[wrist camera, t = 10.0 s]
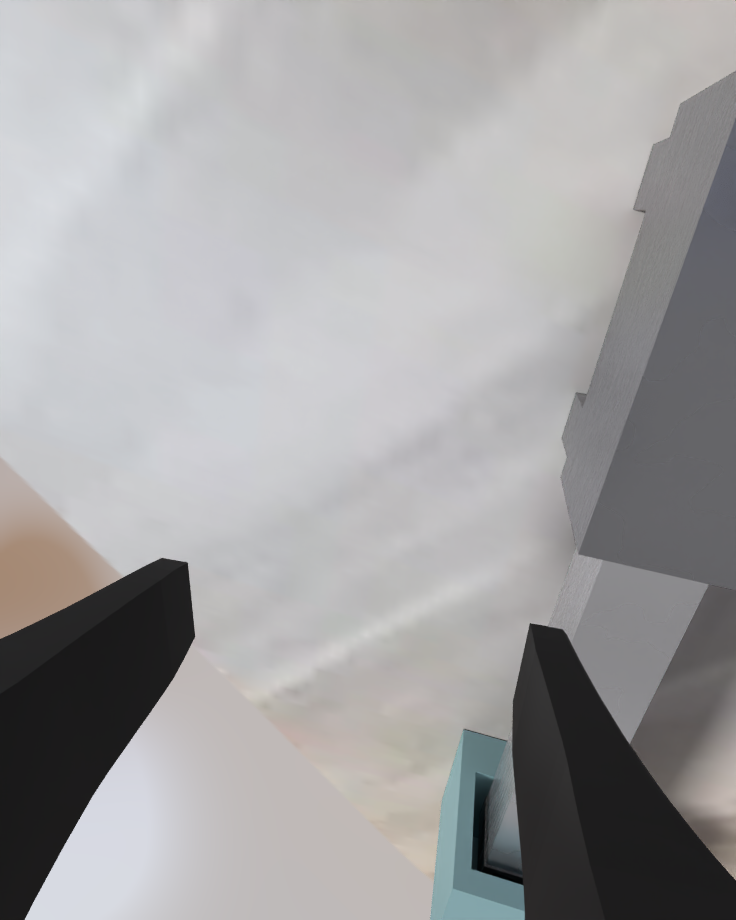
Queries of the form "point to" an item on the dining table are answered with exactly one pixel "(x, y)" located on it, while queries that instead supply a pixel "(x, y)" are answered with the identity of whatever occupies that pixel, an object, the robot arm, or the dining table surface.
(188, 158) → the dining table surface
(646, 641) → the extension bar
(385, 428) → the dining table surface
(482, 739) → the socket
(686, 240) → the sleeve
